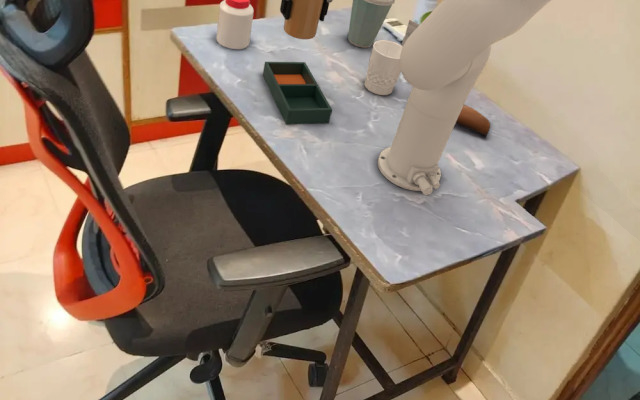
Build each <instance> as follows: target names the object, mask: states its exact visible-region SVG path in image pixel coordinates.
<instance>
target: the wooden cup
mask: <svg viewBox="0 0 640 400" xmlns="http://www.w3.org/2000/svg"><path fill="white" fill-rule="evenodd" d="M322 5H323V0H292V7H291V12H290V18H289V19H288V20H285V19H284V23H283V32H285V34H286V35H288V36H290V37H292V38H295V39H298V40H311V39H314V38H315V37H316V35H317V31H318V26H319V22H320V20H319V18H320V14H321V9H322Z"/></svg>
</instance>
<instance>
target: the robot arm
mask: <svg viewBox="0 0 640 400" xmlns="http://www.w3.org/2000/svg"><path fill="white" fill-rule="evenodd" d="M333 1H334V0H323V5H322V9H321V14H320V18H319V22H324V21H325V17H326V16H327V15H328V12H329V11H328V10H329V6H330V4H331V3H332V2H333ZM551 1H552V0H442V1H441V2H439V4H438V5H437V6H436V7H435V8H434V9H433V10H432V11H431V12H430V13H429V15H428V16H426V18H425V19H424V20H423V21H422V22H421V23H420V24H419V26H418V27H417V28H416V29H415V31H414V32H413V33H412V34H411V35H410V36H409V37H408V39H407V40H406V42H405V43H404V45H403V48H402V50H401V54H400V68H401V74H402V76H403V78H404V80H405V81H406V82H407V83H408V84H409V85H410V86H412V89H411V91H410V94H409V95H408V99H407V100H406V101H407V102H406V103H405V107H404V109H403V112H402V115H401V118H400V121H399V123H398V126H397V129H396V131H395V134H394V137H393V140H392V143H391V145H390V146H388V147H386V148H384V149H383V150H381V152H380V153H379V154H378V155H379V156H378V158H377V166H378V169H379V171H380V173H381V174H382V175H383V176H384V178H386V180H388V182H391V183H392V184H393V185H395V186H398V187H400V188H402V189H404V190H409V191H415V192H422V194H423V195H424V196H429V195H431V194H432V193H433V192H434V190H437V189H439V188H440V187H441V183H440V181H441V177H442V171H441V168H440V166H439V162H440V160H441V158H442V155H443V153H444V151H445V148H446V146H447V143H448V141H449V140H450V138H451V137H450V136H452V135H451V134H452V132H453V130H454V128H455V126H456V121H457V119H458V116H459V114H460V112H461V110H462V108H463V106H464V105H465V103H466V101H467V100H468V97H469V95H470V93H471V91H472V89H473V87H474V85H475V84H476V82H477V81H478V79H479V78H480V76H481V74H482V72H483V70H484V69H485V67H486V66H487V63H488V61H489V58H490V55H491V51H492V50H491V49H492V45H493V44H495V43H497V42H500V41H502V40H503V39H506V38H508V37H510V36H512V35H513V34H515V33H517V32H518V31H520V30H521V29H522V28H523V27H524V26H525V25H526V24H528V22H529V21H530V20H531V19H532V18H533V17H534V16H536V14H537V13H538V12H540V11H541V10H542V9H543V8H544V7H546V5H548V4H549V3H550V2H551ZM291 7H292V0H281V2H280V7H279V11H280V13H281V15H282V16H283V18H284V21H285V20H288V19H289V18H290V12H291Z"/></svg>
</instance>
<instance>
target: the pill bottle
mask: <svg viewBox="0 0 640 400" xmlns="http://www.w3.org/2000/svg"><path fill="white" fill-rule="evenodd" d="M218 8H219V9H218V16H217V17H218V19H217V28H216V41H217V43H218V44H219V45H220V46H222V47H225V48H226V49H231V50H243V49H246V48H247V47H249V45H250V43H251V42H250V41H251V35H252V27H253V20H254V12H255V10H254V7H253V6H252V4H251V0H222V1H221V2H220V3H219V7H218Z"/></svg>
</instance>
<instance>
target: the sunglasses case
mask: <svg viewBox="0 0 640 400" xmlns="http://www.w3.org/2000/svg"><path fill="white" fill-rule="evenodd" d="M455 125H459V126H461V127H463V128H466V129H469V130H471V131H474V132H475V133H476V132H477V133H478V134H481V135H482V136H483V135H484V136H485V137H488V134H489V132H490V130H491V129H490V128H491V122H490V121H489V119H488V118H487V117H486V116H484V115H483V114H482V113H480V112H479V111H478V110H476V109H475V108H472V107H471V106H469V105H466V104H464V106H463V108H462V110H461V112H460V114H459V116H458V119H457V121H456V123H455Z"/></svg>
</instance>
